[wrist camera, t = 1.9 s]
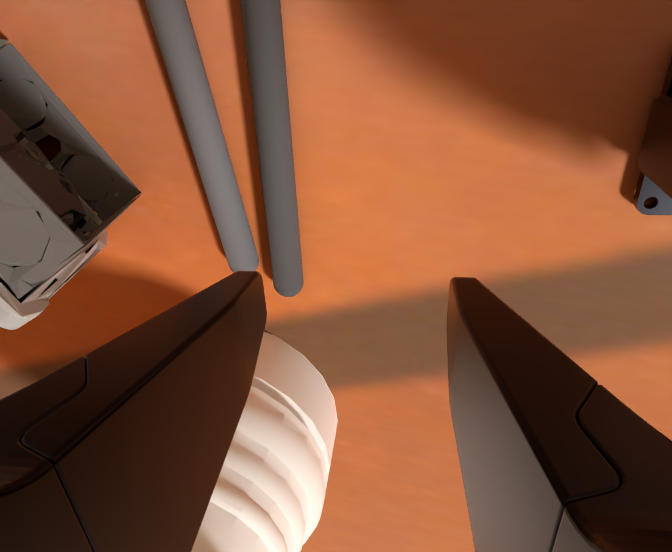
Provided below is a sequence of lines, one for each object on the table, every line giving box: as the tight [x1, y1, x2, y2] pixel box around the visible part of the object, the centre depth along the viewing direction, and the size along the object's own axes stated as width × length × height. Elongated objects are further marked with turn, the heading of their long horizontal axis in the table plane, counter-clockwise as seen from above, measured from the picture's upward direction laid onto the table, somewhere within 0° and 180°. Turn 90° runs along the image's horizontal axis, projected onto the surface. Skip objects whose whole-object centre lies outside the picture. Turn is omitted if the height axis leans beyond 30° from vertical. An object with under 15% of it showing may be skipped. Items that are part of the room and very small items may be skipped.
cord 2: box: [240, 0, 303, 297], centre depth 21 cm, size 1×16×1 cm, turn 2°
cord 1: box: [144, 0, 259, 273], centre depth 21 cm, size 1×15×1 cm, turn 11°
